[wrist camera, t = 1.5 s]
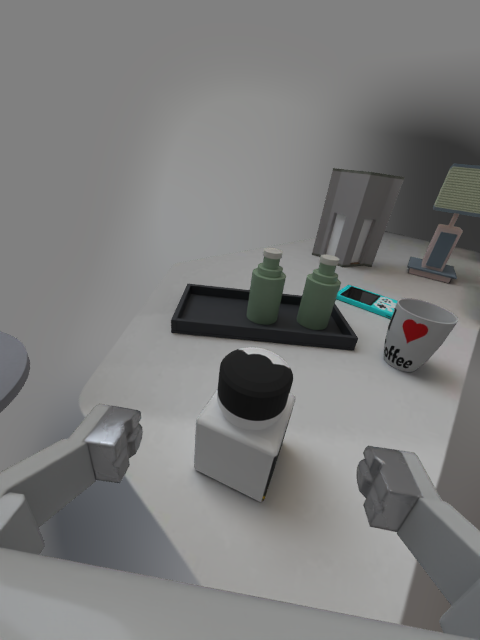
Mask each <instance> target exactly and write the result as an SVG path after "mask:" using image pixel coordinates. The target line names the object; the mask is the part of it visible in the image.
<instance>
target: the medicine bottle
mask: <svg viewBox="0 0 480 640" xmlns="http://www.w3.org/2000/svg"><path fill="white" fill-rule="evenodd" d="M292 382H293V374H292V371H291V369H290V367H289V366H288V364H287V363H286V362H285V360H284V359H282V358H281V357H280V356H279V355H277V354H275V353H273V352H271V351H268V350H265V349H261V348H254V347H247V348H241V349H237V350H235V351H233V352H231V353H230V354H228V355H227V356H226V357H225V358H224V359H223V360H222V362H221V365H220V372H219V382H218V389H217V391H216V392H215V394H214V395H213V396H212V398H211V399H210V401H209V402H208V403H207V405H206V406H205V408H204V409H203V410H202V412H201V413H200V415H199V416H198V417H197V420H196V435H195V455H194V468H195V469H196V470H197V471H199V472H201V473H203V474H205V475H207V476H209V477H211V478H213V479H215V480H217V481H219V482H221V483H223V484H225V485H227V486H229V487H231V488H233V489H235V490H237V491H239V492H241V493H243V494H245V495H247V496H249V497H251V498H253V499H255V500H257V501H259V502H262V501H263V500H264V499H265V496H266V493H267V489H268V486H269V483H270V480H271V477H272V474H273V471H274V468H275V464H276V461H277V458H278V455H279V452H280V449H281V446H282V442H283V439H284V436H285V432H286V429H287V426H288V422H289V419H290V416H291V412H292V409H293V406H294V402H295V396H294V395H293V394H290V389H291V386H292Z"/></svg>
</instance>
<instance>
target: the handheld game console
mask: <svg viewBox="0 0 480 640" xmlns="http://www.w3.org/2000/svg"><path fill="white" fill-rule="evenodd" d="M336 299H338V300H340V301H343V302H346V303H348V304H351V305H354V306H357V307H359V308H362V309H365V310H368V311H370V312H373V313H376V314H378V315H381V316H384V317H387V318H389V319H391V318H392V315H393V312H394V309H395V307H396V304H397V301H396V300H393V299H390V298H387V297H384V296H381V295H378V294H375V293H372V292H369V291H366V290H363V289H360V288H357V287H354V286H350V285H347V286H346V287H344V288H343V289H342V290H340V291H339V292H338V294H337V297H336Z"/></svg>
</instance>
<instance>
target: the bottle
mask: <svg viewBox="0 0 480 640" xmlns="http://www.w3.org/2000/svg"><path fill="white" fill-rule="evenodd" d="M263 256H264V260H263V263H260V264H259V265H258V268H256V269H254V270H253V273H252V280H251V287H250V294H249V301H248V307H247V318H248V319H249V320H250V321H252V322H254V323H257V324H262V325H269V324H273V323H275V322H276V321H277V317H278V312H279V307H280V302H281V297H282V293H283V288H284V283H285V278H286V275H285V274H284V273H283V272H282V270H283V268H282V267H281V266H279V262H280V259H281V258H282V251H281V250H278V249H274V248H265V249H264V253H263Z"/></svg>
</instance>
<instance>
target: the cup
mask: <svg viewBox="0 0 480 640" xmlns="http://www.w3.org/2000/svg"><path fill="white" fill-rule="evenodd" d="M457 322H458V318H457V317H456V316H455V315H454V314H453V313H452V312H450V311H448V310H447V309H445V308H443V307H440V306H438V305H436V304H433V303H430V302H426V301H423V300H418V299H412V298H402V299H399V300H398V301H397V304H396V307H395V309H394V312H393V315H392V318H391V320H390V323H389V326H388V331H387V335H386V339H385V345H384V359H385V361H386V362H387V363H388V364H389V365H391V366H392V367H394V368H396V369H399V370H401V371H405V372H413V371H415V370H416V369H418V368H419V367H420V366H421V365H423V364H424V363H425V362H426V361H427V360H428V359H429V358H430V357H431V356H432V355H433V354H434V353H435V352H436V350H437V349H438V348H439V347H440V346H441V345H442V344H443V342H444V341H445V339H446V338H447V336H448V335H449V333H450V332H451V331H452V329H453V328H454V326H455V325H456V323H457Z"/></svg>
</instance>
